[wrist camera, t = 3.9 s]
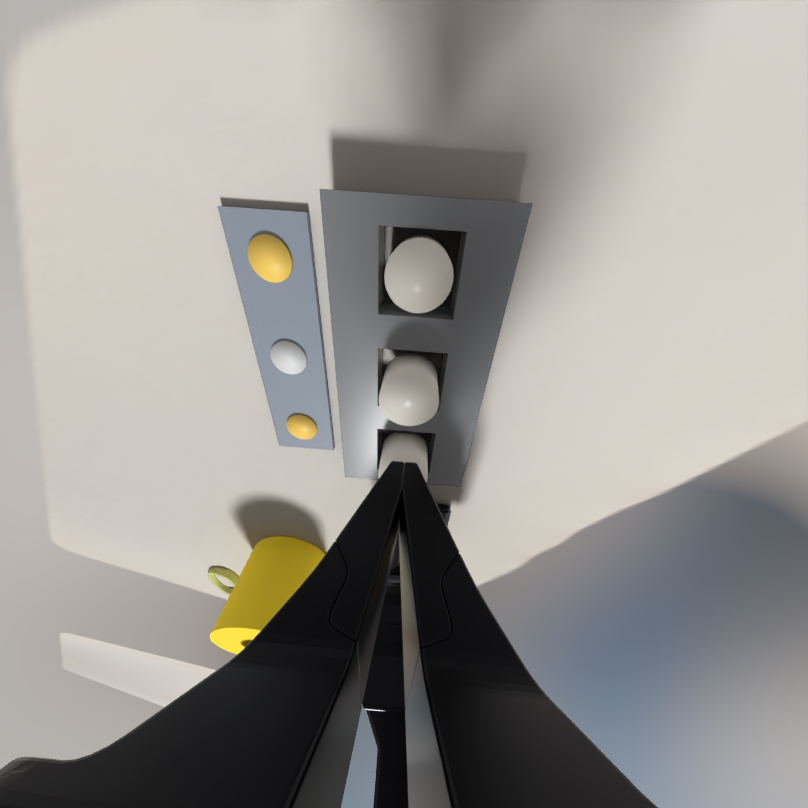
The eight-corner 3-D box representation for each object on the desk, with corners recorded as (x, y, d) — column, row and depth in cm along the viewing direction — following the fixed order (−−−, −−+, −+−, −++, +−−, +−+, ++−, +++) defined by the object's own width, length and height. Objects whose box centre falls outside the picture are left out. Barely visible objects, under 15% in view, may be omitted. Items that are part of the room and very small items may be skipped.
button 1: (445, 301, 18) (448, 315, 16) (389, 297, 18) (383, 310, 16) (453, 236, 16) (458, 241, 14) (390, 232, 16) (384, 235, 14)
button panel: (457, 465, 27) (460, 486, 24) (351, 456, 27) (345, 476, 25) (518, 204, 15) (532, 203, 13) (333, 192, 15) (319, 189, 13)
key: (294, 583, 43) (289, 599, 42) (228, 587, 46) (220, 602, 44) (270, 559, 40) (263, 575, 38) (199, 565, 42) (189, 580, 40)
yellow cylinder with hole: (291, 528, 34) (251, 621, 26) (344, 566, 39) (323, 655, 31) (238, 548, 38) (190, 636, 30) (292, 581, 42) (262, 665, 34)
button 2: (425, 465, 24) (425, 494, 22) (382, 461, 24) (377, 490, 22) (429, 432, 22) (430, 461, 19) (383, 429, 22) (378, 456, 20)
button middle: (434, 401, 20) (435, 428, 18) (384, 397, 20) (378, 423, 18) (440, 355, 18) (442, 377, 16) (384, 351, 18) (378, 372, 16)
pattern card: (334, 447, 26) (332, 451, 26) (280, 442, 26) (278, 447, 26) (308, 212, 16) (305, 212, 16) (221, 206, 16) (215, 206, 16)
